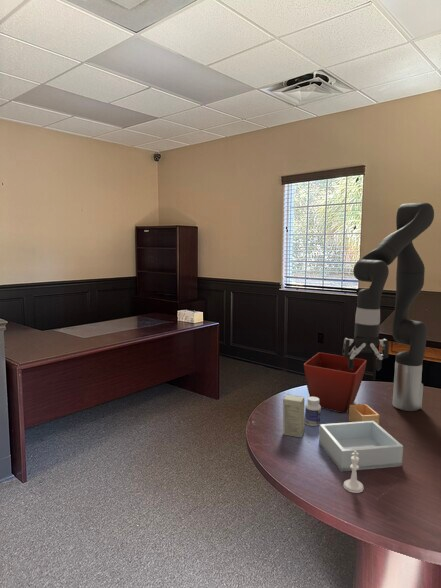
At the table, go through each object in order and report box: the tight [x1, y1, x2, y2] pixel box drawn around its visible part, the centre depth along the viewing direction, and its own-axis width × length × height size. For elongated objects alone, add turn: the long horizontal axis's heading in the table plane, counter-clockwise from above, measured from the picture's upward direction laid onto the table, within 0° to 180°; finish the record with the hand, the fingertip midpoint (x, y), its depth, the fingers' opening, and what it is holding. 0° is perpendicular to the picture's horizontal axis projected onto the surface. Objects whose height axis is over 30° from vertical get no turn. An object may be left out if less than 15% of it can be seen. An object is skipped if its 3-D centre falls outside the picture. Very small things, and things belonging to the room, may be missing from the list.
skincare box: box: [282, 394, 305, 438], centre depth 134 cm, size 6×4×12 cm
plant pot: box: [303, 352, 368, 414], centre depth 156 cm, size 19×19×17 cm
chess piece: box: [343, 451, 364, 494], centre depth 106 cm, size 5×5×10 cm
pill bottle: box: [304, 396, 322, 427], centre depth 141 cm, size 5×5×9 cm
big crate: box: [318, 421, 404, 473], centre depth 122 cm, size 18×16×6 cm
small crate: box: [348, 403, 380, 426], centre depth 139 cm, size 6×9×6 cm, turn 9°
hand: (364, 369), depth 135 cm, fingers open, 8 cm apart
